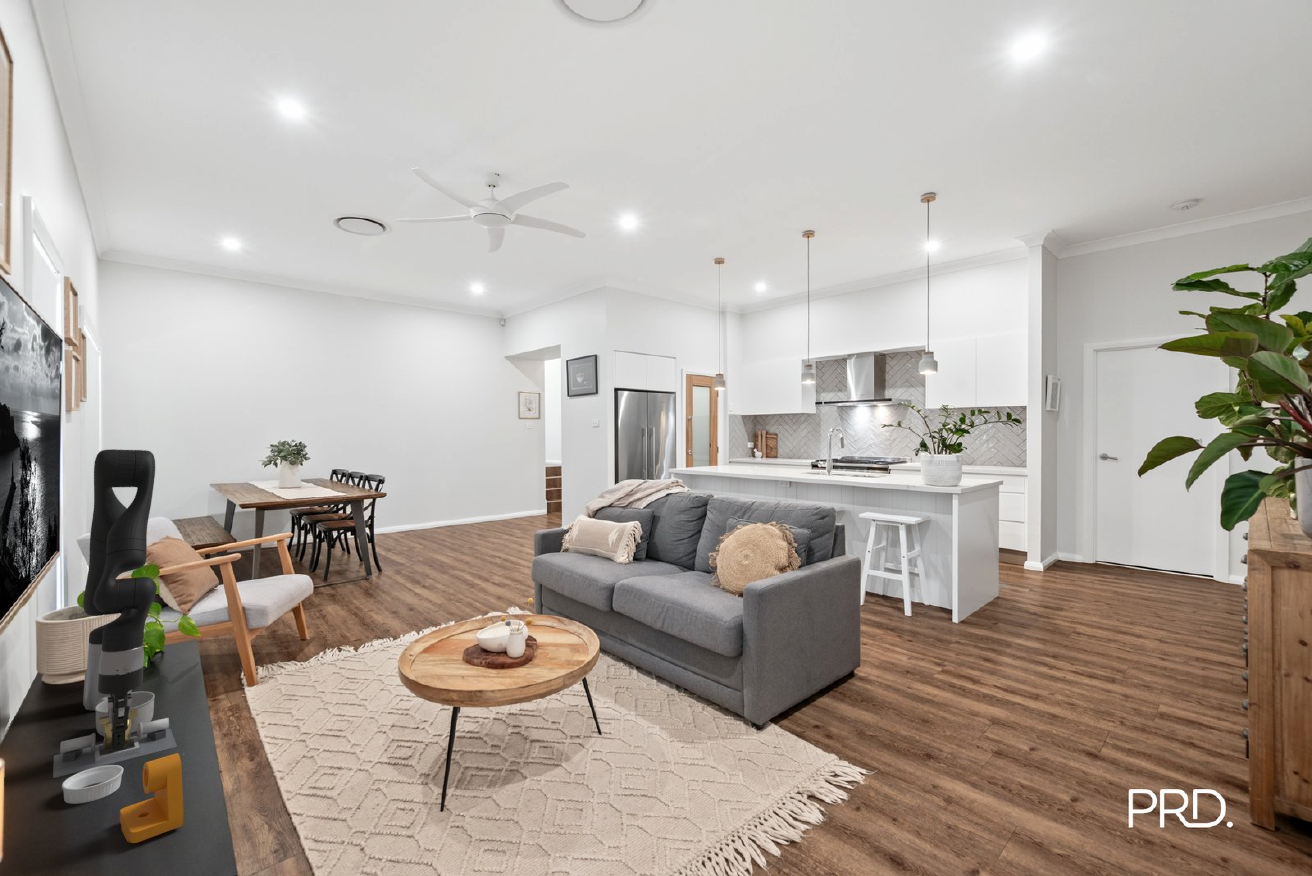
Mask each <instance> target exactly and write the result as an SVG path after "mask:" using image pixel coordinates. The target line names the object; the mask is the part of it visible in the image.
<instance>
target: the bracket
mask: <svg viewBox="0 0 1312 876" xmlns="http://www.w3.org/2000/svg"><path fill="white" fill-rule="evenodd" d="M182 769H183V768H182V761H181V755H180V754H179V753H178V752H177V753H173V754H171V755H166V756H163V757H159V758H157V759H153V760H150V761H147V762H144V764H143V767H142V786H143V791H144V793H145V794H146V795H147V794H150V793H154V797H152V798H149V799H146V800H143V801H139V802H136V803H134V804H131V805H127V806H125V807H123V808H121V809H120V810H119V823H120V825H121V827H120V830H121V832H122V833H123V836H124V838H125V839H126V842H127V843H130V844H136V843H139V842H140V843H141V842H142V841H145V840H149V839H151V838H153V837H156V836H158V835H161V834H163V833H166V832H169V831H172V830H175V829H177V828H180V827H182V826H184V815H185V814H184V792H183V790H184V789H183V771H182Z"/></svg>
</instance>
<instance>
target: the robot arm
mask: <svg viewBox="0 0 1312 876" xmlns="http://www.w3.org/2000/svg"><path fill="white" fill-rule="evenodd" d="M93 465H94V466H93V513H92V519H91V526H90V533H89V534H90V535H89V556H88V557H89V561H88V563H89V564H88V572H87V576H86V581H85V582H86V584H85V588H84V594H83V603H82V604H83V605H82V606H83V610H84V612H85V615H87V616H89V617H101V616H108V615H117V614H120V615H119V616H118V617H116V618H115V619H114V620H112V621H110V622H108V623H106V624H104V625H101V626H98V627H96V628H94V629H93V630H91V631H90V632H89V635H88V647H87V648H88V649H87V650H88V652H87V667H86V669H85V670H84V681H83V682H84V685H83V686H84V687H83V701H82V705H83V706H84V709H85V710H87V711H95V707H96V706H97V702H98V701H99V700H100V699H102V698H104V697H108V700H107V704H108V716H109V722H112V729H111V732H112V740H111V749H112V750H115V749H119V748H122V747H124V745H125V730H127V728H128V718H129V717H130V705H131V704H132V696H131V692H133V691H132V690H136V689H138V688H139V687H140V686H142V685H143V681H144V680H143V678H144V661H145V650H144V635H145V626H146V625H145V624H146V620H147V618H148V614H149V612H150V609H151V607H152V605H153V602H154V599H155V598H156V594H157V591H158V588H157V584H156V582H155V580H154V579H153V578H151V577H150V576H149V577H148V576H139V577H138V576H137V577H128V578H127V577H126V578H118V576H121V574H123V573H126V572H131V571H134V570H135V571H136V570H138V569H140V568H143V567H144V566H145V565H146V563H147V549H148V547H147V546H148V545H147V534H148V524H149V517H150V513H151V512H150V511H151V506H152V500H153V492H154V486H155V478H156V459H155V455H154V453H153V452H152V451H150V450H146V449H145V450H144V449H143V450H142V449H103V450H100V451H99V452H98V453H97V454H96V457H95V459H94V464H93ZM113 488H137V489H136V493H135V496H134V498H133V500H132V501H131V503H130V504H129V506H128V507H126V506H125V505H124V504H123V503H122V502H121V501H120V500H119V499H118V496H117V495H116V494H115V492H114V490H113ZM123 722H124V725H121V726H116V724H119V723H123Z"/></svg>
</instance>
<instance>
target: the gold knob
mask: <svg viewBox="0 0 1312 876" xmlns="http://www.w3.org/2000/svg"><path fill="white" fill-rule="evenodd" d="M134 717H138V710H134V711H130V717H129V718H128V728H127V730H125V745H124V747H125V746H127V745H128V744H129V743H130V737H131V734H132V733H131V718H134ZM102 724H105V734H104V736H103V737H104V739H103V744H104V749H105V750H112V749H111V740H112V732H111V729H112V722H109V716H105V717H101V718H99V725H102ZM121 725H124V722H123V723H119V724H116V726H121Z"/></svg>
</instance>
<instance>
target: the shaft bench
mask: <svg viewBox="0 0 1312 876" xmlns="http://www.w3.org/2000/svg"><path fill="white" fill-rule="evenodd" d="M169 719H170V718H169V717H164V718H162V719H160V718H159V719H156V720H153V721H152V720H151V722H147V723H143V724H142V722H141V723H138V726H137V731H136V733H137V734H136V735H134V736H130V743H129V744H128V745H127V746H125V747H122V748H119V749H115V750H105V749H104V743H101V744H97V745H96V736H97V735H96V732H93V733H91V734H90V735H86V736H85V735H84V736H80V737H76V738H71V739H67V740H64V741H63V740H61V741H60V746H59V747H60V749H59V750H60V751H59V754H55V755H53V767H52V776H53V777H52V778H53V779H55V778H61V777H64V776H67V775H71V774H75V773H76V774H77V773H80V772H82V771H85V770H88V769H91V768H95V767H100V766H107V765H113V764H115V763H119V762H123V761H126V760H131V759H134V758H139V757H144V756H147V755H152V754H154V753H159V752H161V751H166V750H171V749H174V748H177V747H178V745H177V743H176V740H175V738H174V734H173V732H172V728H169V727H170V720H169Z"/></svg>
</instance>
